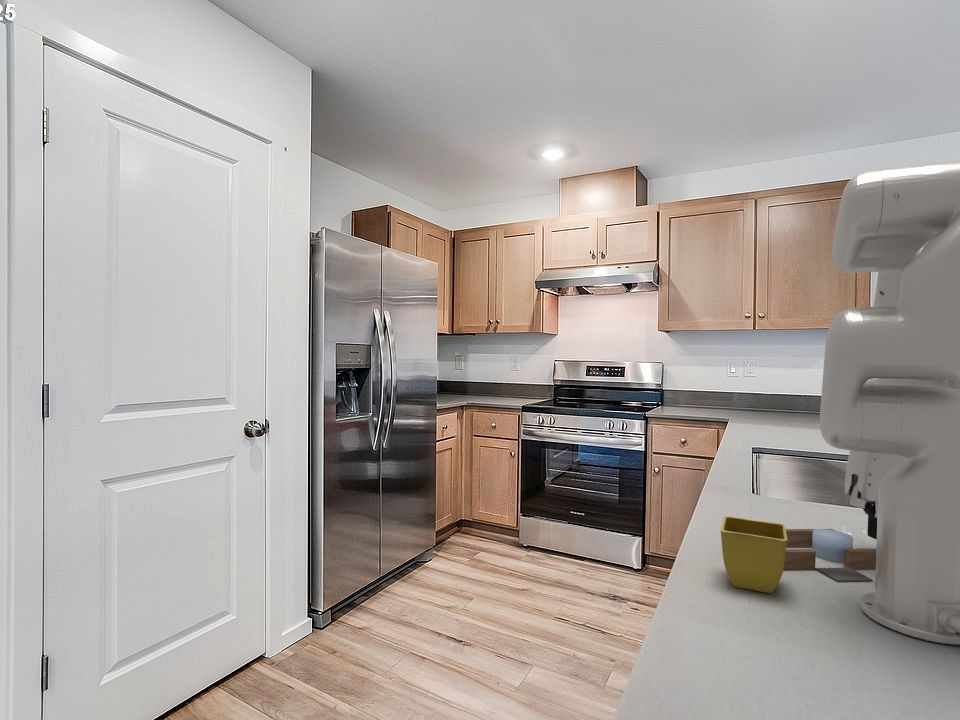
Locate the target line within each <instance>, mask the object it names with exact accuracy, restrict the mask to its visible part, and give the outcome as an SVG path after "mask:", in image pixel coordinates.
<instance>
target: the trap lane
mask: <svg viewBox="0 0 960 720" xmlns="http://www.w3.org/2000/svg"><path fill="white" fill-rule="evenodd" d="M816 529H817V528H786V535H787V547H786V554H785V561H784V569H783V571H817V572H819V573H820V574H822V575H824V576H826V577H827V578H829V579H831V580H833V581H835V582H836V583H848V582H849V583H856V582H857V583H858V582H863V583H865V582H873V578H870V577H868V576H867V575H864V574H863V573H861V572H859V571H857V570H876V548H874V547H873V548H853V549H844V563H842V564H843V567H816V559H817V557H816V552H815V551H813V550H812V537H813V530H816ZM826 529H827V530H834V531H837V530H835V529H833V528H826ZM787 548H788V549H787ZM789 548H790V549H789ZM794 548H795V549H794ZM798 548H799V549H798Z"/></svg>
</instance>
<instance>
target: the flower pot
mask: <svg viewBox="0 0 960 720" xmlns="http://www.w3.org/2000/svg"><path fill="white" fill-rule="evenodd" d="M786 529H787V527H786V525H785V524H784V523H780V522H779V523H778V522H769V521H764V520H763V521H762V520H755V519H754V520H753V519H747V518H742V517H736V516H729V515H728V516H727V515H726V516H723V520H722V523H721V528H720V537H721V538H720V540H721V548H722V550H721V551H722V560H723V564H724V568H725V571H726V574H727V577H728V578H729V580H730V582H731V583H732V586H733V587H735V588H739V589H746V590H751V591H756V592H760V593H767V594H771V593H773V592H774V590H775V589H776V588H777V587H778V585H779V583H780V582H781V578H782V576H783V572H784V570H783V569H784V561H785V554H786V549H787V548H788V547H787V535H786Z"/></svg>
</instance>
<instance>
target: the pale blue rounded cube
mask: <svg viewBox="0 0 960 720" xmlns="http://www.w3.org/2000/svg"><path fill="white" fill-rule="evenodd" d="M815 529H816V530H813V537H812V547H811V549H812V550H813V551H815V552H816V558H817V559H821V560H823V561H827V562H831V563H838V564H843V563H844V549H854V547H853V545H854V538H853V536H852V535H850V534H848V533H845V532H842V531H838V530H836V531H834V530H835V529H833V530H827V529H828V528H815Z"/></svg>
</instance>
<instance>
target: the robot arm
mask: <svg viewBox="0 0 960 720" xmlns="http://www.w3.org/2000/svg"><path fill="white" fill-rule="evenodd" d="M832 239H833V241H832V260H833V264H834V266H835V267H836V269H837V270H838V271H840V272H841V273H846V274H847V273H849V274H851V273H877V277H876V278H877V279H876V286H875V287H876V288H875V294H874V299H873V306H864V307H863V306H861V307H858V306H857V307H852V308H851V307H850V308H847V309H845V310H842V311H840V312H838V313H837V314H836V315H835V316H834V317H833V318H832V320H831V321H830V325H829V326H828V330H827V333H826V341H825V347H824V348H825V349H824V360H823V371H822V373H823V374H822V384H821V396H820V397H821V399H820V408H819V409H820V410H819V426H820V427H819V428H820V433H821V436H822V439H823V440H824V441H825V442H826V443H827V444H828V445H829V446H831V447H833V448H835V449H839V450H845V451H849V454H848V456H847V457H848V458H847V464H846V469H845V475H844V476H845V477H844V478H845V479H844V492H845V494H846V495H848V496H850V500H849V504H850V505H851V506H853V507H855V508H859V509H862V510H863V511H864V512H863V513H864V514H865V515H867V533H866V534H867V536H868V537H869V538H871V539H873V540H874V539H875V541H876V569H875V575H874V576H875V579H874V581H875V583H874V592H869V593H866V594H863V596H862V597H861V599H860V608H861V610H862V612H863V613H865V614H866V615H867V617H869V618H870V619H872V620H873V621H874V622H876V623H878V624H880V625H882V626H884V627H887V628H888V629H891V630H892V631H895V632H898V633H901V634H903V635H906V636H910V637H912V638H917V639H920V640H924V641H928V642H933V643H938V644H939V643H940V644H946V645H957V646H960V160H954V161H944V162H943V161H942V162H935V163H927V164H920V165H912V166H910V165H909V166H903V167H902V166H901V167H894V168H893V167H892V168H886V169H885V168H883V169H875V170H870V171H864V172H861V173H858V174H856V175H855V176H853V177H851V178H850V180H849V181H848V182H847V184H846V185H845V187H844V189H843V191H842V195H841V199H840V202H839V207H838V213H837V218H836V222H835V226H834V230H833V238H832Z"/></svg>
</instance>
